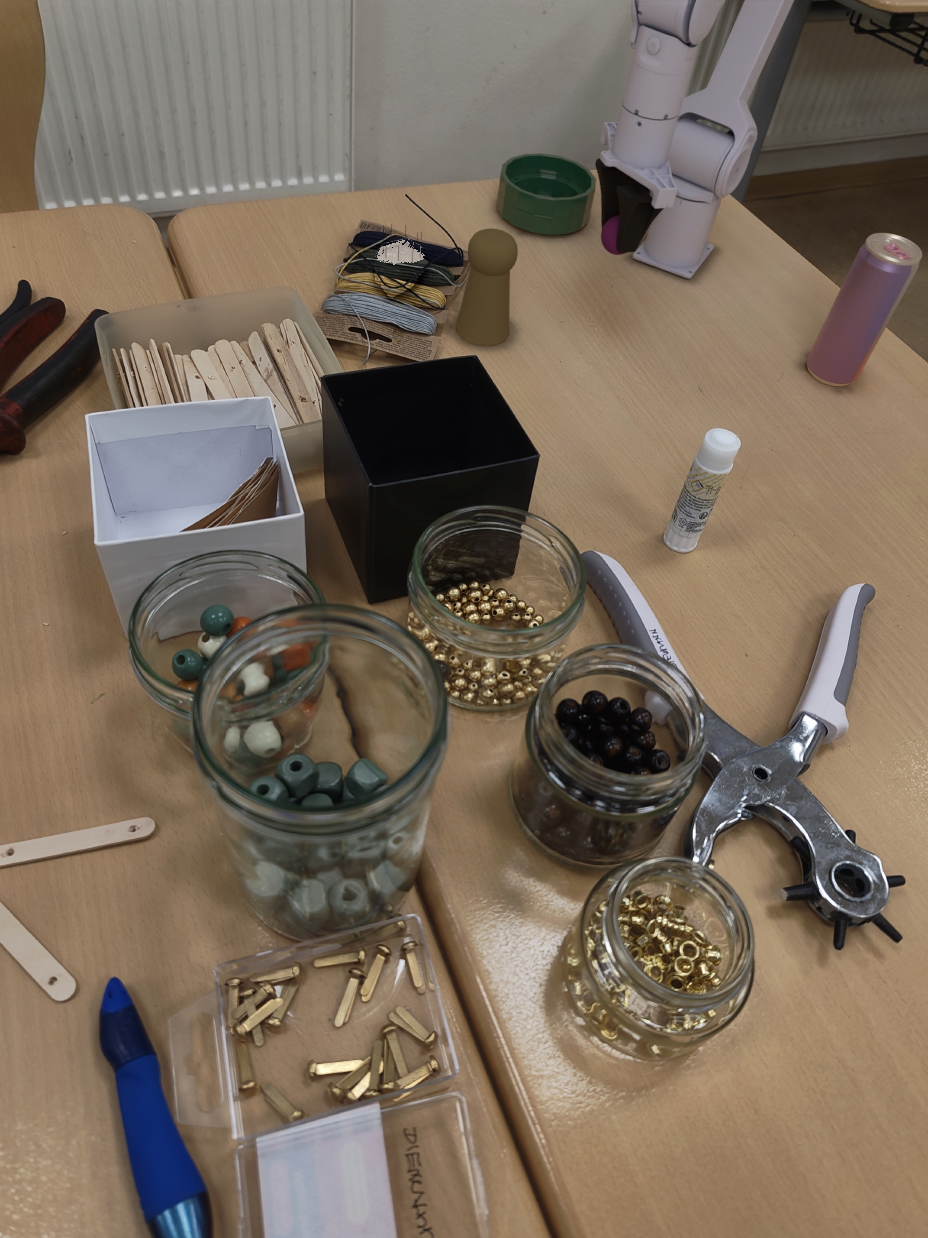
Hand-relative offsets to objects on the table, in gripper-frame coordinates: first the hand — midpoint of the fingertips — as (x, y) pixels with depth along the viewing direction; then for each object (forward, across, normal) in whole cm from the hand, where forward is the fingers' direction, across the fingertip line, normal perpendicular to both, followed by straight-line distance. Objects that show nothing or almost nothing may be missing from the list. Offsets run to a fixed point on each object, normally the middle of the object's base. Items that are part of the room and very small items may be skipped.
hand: (618, 239), depth 95 cm
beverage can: (+9, +16, +22) cm, 28 cm away
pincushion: (+8, -10, -22) cm, 26 cm away
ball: (+1, 0, 0) cm, 1 cm away
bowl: (+8, -22, 0) cm, 23 cm away
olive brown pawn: (+8, +2, -16) cm, 18 cm away
